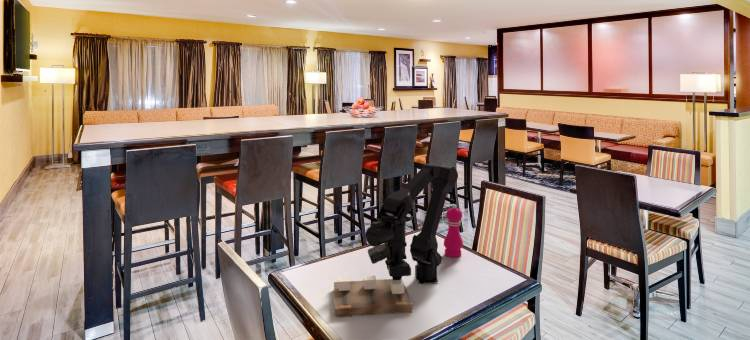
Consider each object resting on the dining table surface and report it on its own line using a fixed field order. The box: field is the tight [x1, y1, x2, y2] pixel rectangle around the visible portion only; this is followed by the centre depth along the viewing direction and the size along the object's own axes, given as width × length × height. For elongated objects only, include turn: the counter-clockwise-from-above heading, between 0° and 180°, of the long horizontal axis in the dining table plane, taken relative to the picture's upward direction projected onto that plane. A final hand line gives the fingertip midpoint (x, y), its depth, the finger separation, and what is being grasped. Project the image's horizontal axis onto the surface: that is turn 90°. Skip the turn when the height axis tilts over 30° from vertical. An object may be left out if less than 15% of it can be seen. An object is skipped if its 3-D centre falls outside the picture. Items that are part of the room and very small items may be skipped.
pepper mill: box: [443, 203, 464, 259], centre depth 166 cm, size 7×7×20 cm
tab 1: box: [337, 276, 351, 291], centre depth 134 cm, size 4×3×3 cm
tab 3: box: [391, 279, 405, 294], centre depth 132 cm, size 4×3×3 cm
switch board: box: [333, 278, 413, 318], centre depth 133 cm, size 22×17×3 cm
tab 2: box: [363, 275, 377, 289], centre depth 135 cm, size 4×3×3 cm
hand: (395, 285), depth 136 cm, fingers closed
